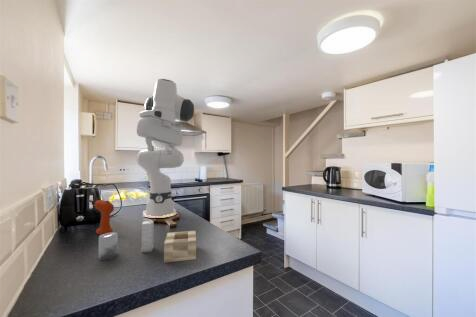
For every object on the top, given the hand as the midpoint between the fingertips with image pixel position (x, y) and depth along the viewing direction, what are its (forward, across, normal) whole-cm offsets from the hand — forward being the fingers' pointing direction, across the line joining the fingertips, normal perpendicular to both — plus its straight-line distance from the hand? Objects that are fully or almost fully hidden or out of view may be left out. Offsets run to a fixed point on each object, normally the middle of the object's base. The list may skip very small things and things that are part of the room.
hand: (160, 153), depth 78 cm
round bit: (+37, +10, -9) cm, 39 cm away
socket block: (+36, -1, +12) cm, 38 cm away
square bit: (+36, +1, -1) cm, 36 cm away
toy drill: (+35, -3, -37) cm, 51 cm away
